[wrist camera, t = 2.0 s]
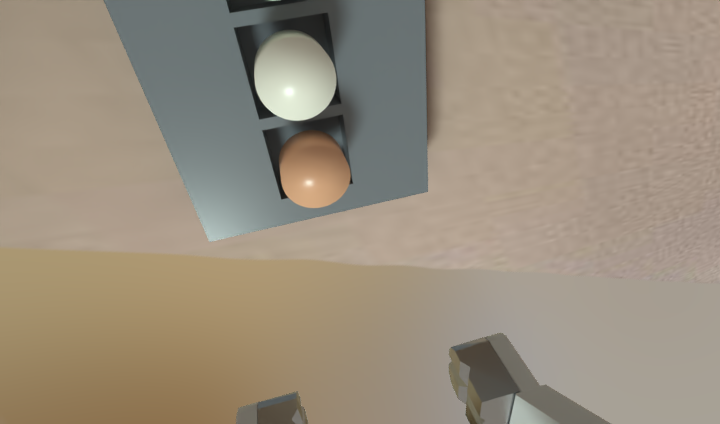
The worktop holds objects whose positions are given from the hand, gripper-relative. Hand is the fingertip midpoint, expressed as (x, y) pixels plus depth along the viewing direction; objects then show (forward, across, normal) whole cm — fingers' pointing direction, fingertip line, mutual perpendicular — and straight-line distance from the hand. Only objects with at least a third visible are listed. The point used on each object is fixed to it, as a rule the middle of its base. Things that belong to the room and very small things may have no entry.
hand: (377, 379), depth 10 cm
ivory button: (+14, 0, -5) cm, 15 cm away
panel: (+17, 0, -5) cm, 18 cm away
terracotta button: (+14, 0, 0) cm, 14 cm away
